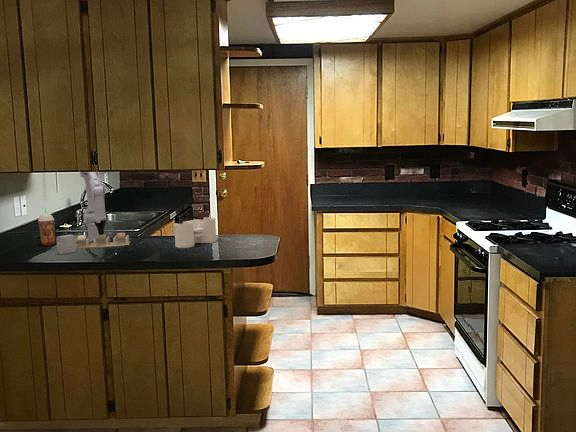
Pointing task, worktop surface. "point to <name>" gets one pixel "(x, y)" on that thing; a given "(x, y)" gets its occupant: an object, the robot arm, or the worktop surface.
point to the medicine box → (66, 244)
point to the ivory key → (81, 237)
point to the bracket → (195, 232)
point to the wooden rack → (102, 242)
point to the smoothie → (47, 228)
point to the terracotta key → (120, 235)
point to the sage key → (101, 236)
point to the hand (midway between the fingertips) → (101, 234)
